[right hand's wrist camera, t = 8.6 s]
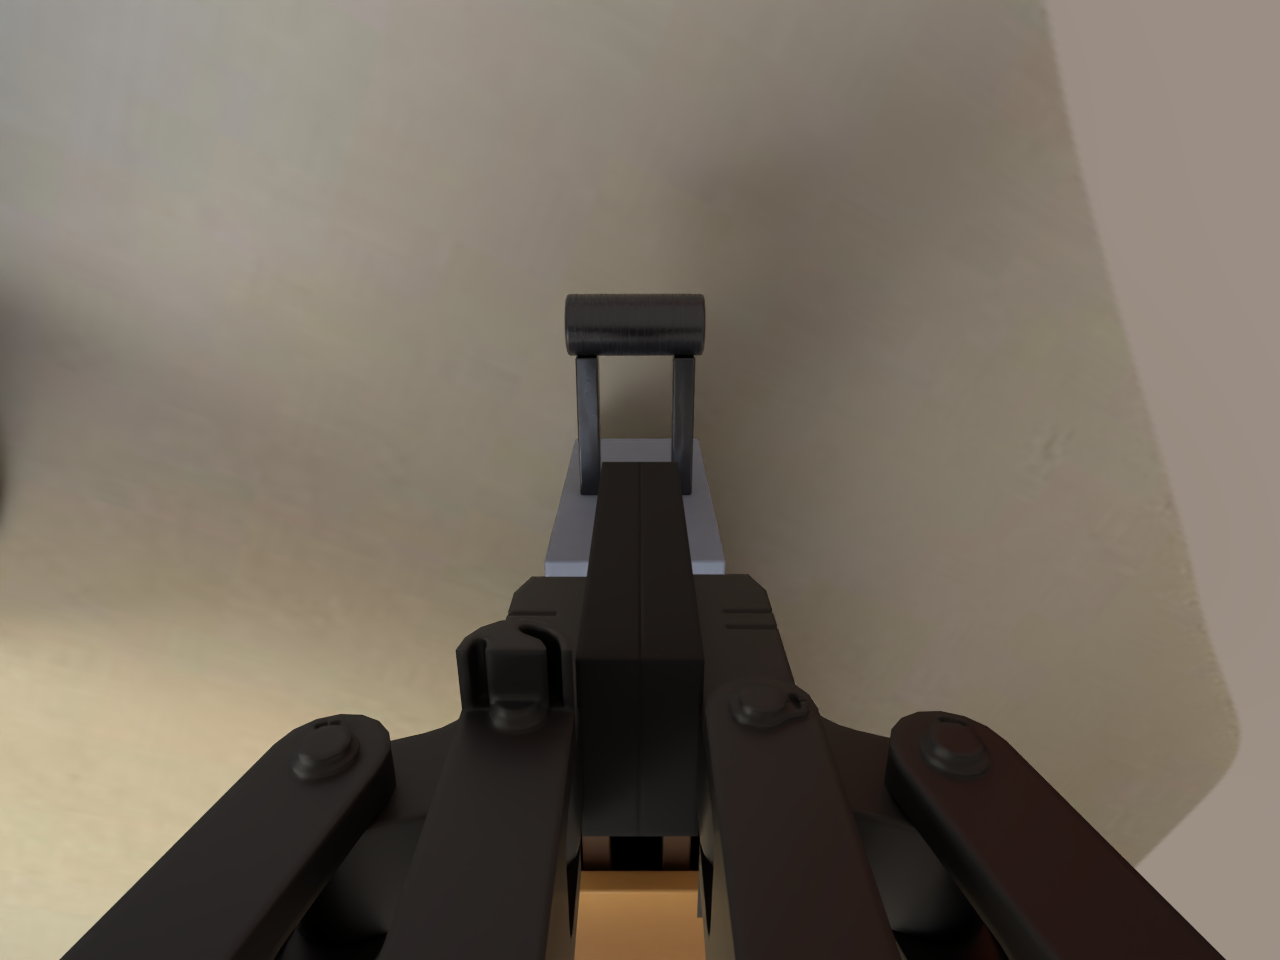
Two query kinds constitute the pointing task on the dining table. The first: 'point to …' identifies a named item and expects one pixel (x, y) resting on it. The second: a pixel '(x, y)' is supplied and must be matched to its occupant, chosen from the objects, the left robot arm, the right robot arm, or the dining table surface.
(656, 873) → the cabinet
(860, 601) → the dining table surface
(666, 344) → the drawer
